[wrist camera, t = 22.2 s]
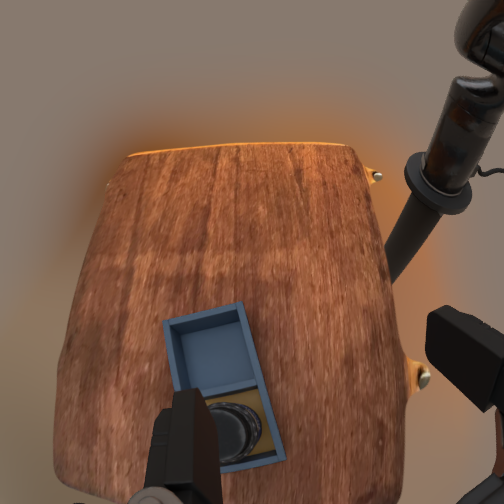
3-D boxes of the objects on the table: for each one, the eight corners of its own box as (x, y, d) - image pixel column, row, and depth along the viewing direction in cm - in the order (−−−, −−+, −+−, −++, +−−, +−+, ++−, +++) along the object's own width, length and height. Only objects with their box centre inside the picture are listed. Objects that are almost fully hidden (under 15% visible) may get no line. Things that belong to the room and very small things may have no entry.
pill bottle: (272, 421, 30) (271, 427, 20) (242, 461, 27) (228, 482, 18) (228, 393, 32) (207, 386, 22) (199, 432, 29) (167, 440, 20)
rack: (246, 314, 37) (242, 300, 33) (285, 452, 28) (286, 459, 24) (175, 331, 37) (161, 320, 33) (206, 468, 28) (195, 476, 23)
